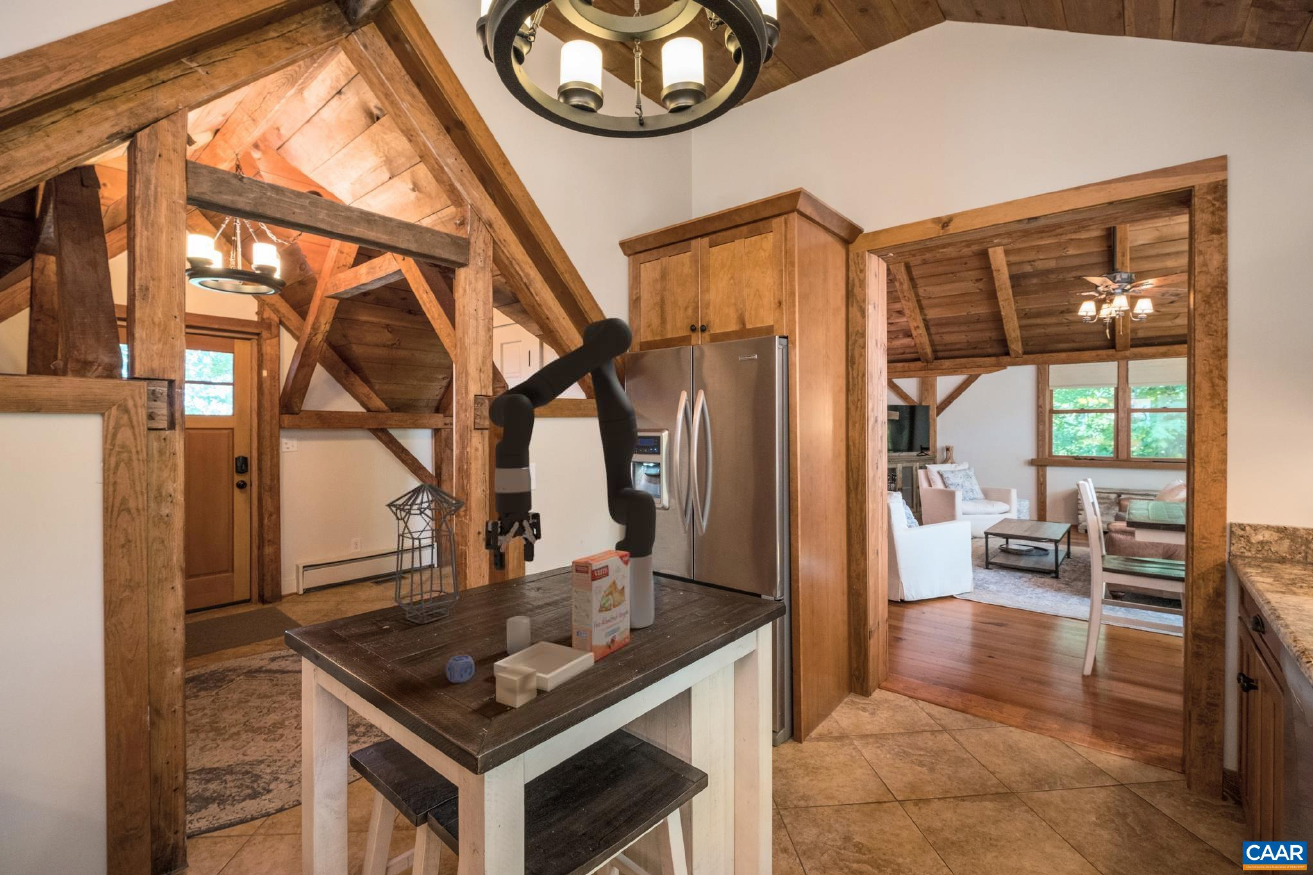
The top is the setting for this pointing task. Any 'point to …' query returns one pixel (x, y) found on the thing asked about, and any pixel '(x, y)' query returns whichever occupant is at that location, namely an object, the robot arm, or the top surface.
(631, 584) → the robot arm
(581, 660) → the tray
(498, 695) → the wooden block
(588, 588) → the cracker box
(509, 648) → the grey rounded cylinder
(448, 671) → the decorative dice
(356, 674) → the top surface
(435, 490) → the geometric lantern
